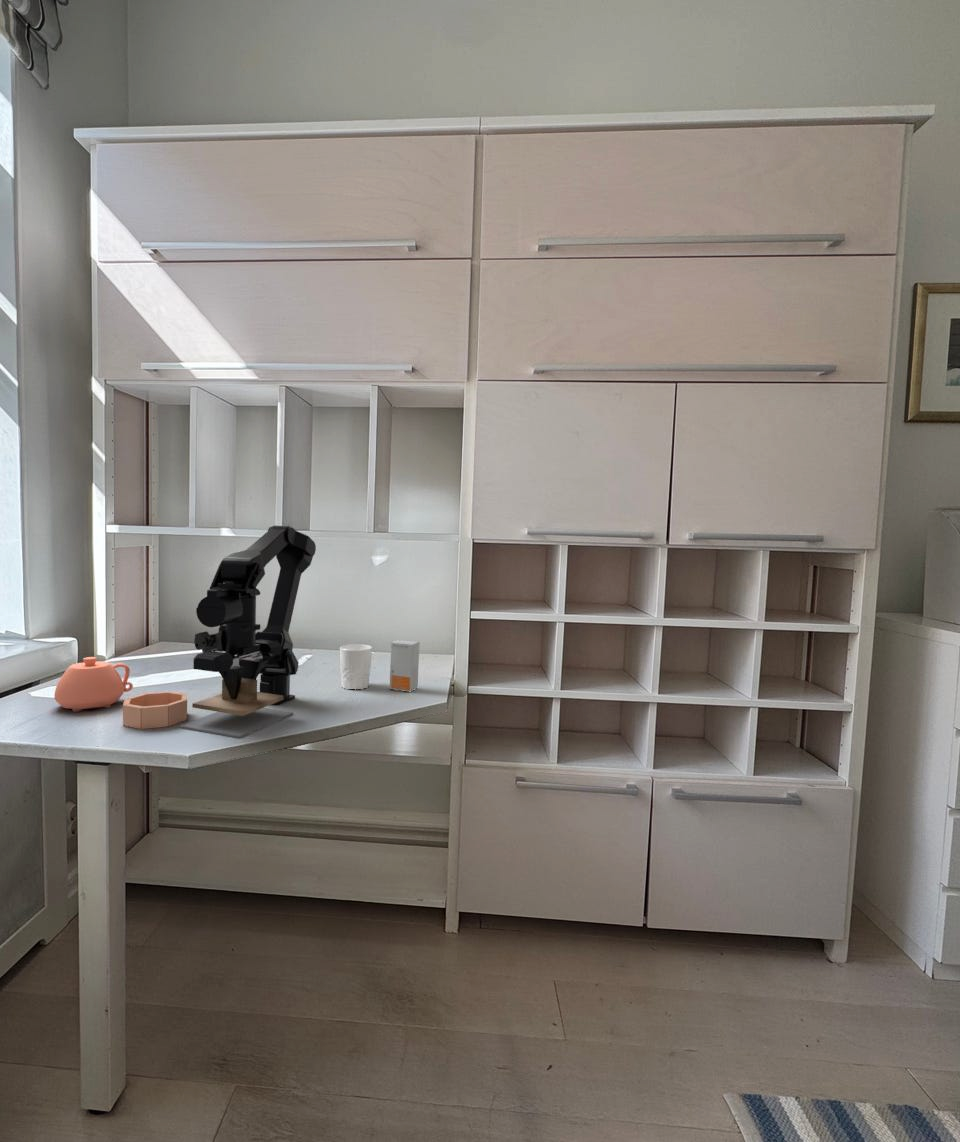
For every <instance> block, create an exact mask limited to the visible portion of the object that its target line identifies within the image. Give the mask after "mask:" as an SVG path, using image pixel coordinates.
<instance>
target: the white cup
mask: <svg viewBox="0 0 960 1142" xmlns="http://www.w3.org/2000/svg"><path fill="white" fill-rule="evenodd" d="M372 654H373V646H371V645H368V644H359V643H357V644H355V643H351V644H344V645H341V646H340V647H339V663H340V664H339V665H340V678H341V682H340V683H341V688H342V687H343V688H342V689H344V688H345V689H344V690H348V689H355V690H354V691H357V690H356V689H361V690H365V689H364V688H366V689H367V688H369V687H368V686H370V675H371V671H372V670H371V667H372Z"/></svg>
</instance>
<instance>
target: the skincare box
mask: <svg viewBox="0 0 960 1142" xmlns="http://www.w3.org/2000/svg"><path fill="white" fill-rule="evenodd" d="M390 644H391V645H390V665H389V667H390V671H389V690H390V689H395V690H394V691H398V690H404V691H413V690H414V689H416V688H417V687H418V686H419V661H420V660H419V659H420V641H413V640H402V639H396V640H394V641H392V642H391V643H390ZM417 689H418V688H417ZM417 689H416V690H417ZM404 691H403V692H404ZM414 691H415V690H414ZM414 691H413V692H414Z"/></svg>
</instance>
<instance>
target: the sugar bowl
mask: <svg viewBox="0 0 960 1142" xmlns="http://www.w3.org/2000/svg"><path fill="white" fill-rule="evenodd" d="M97 660H98V658H97V656H96V657H95V656H88V657H83V658H82V661H83V662H77V663H73V664H71V665H69V666H68V667H67V668H66V670H65V671H64V673H63V674H62V675H61V677H60V679H59V680H58V682H57V684H56V687H55V691H54V696H53V697H54V701H55V702H56V703H57V704H58V705H59V706H61V708H64V709H72V710H73V711H72V712H81V711H80V710H82V711H84V710H85V709H93V708H101V707H105V708H109V706H110V705H112V704H114V703H117V701H118V700H119V699H120V698H121V697H122V696H123V694H124V692H125V693H127V692H129V691H132V690H133V688H134V686H133V683H132V682H131V681H128V680H129V677H130V674H131V673H130V672H131V669H130V667H129V666H128V665H127V664H125V663H122V662H118V663H115V664H111V663H110V662H107V661H101V660H100V661H97ZM119 667H120V668H124V670H125V671H124V672H125V673H124V677H123V679H122V677H121V675H120V674H119V672H118V671H117V669H116V668H119ZM127 686H128V687H127ZM110 707H111V706H110ZM83 709H84V710H83Z"/></svg>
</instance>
